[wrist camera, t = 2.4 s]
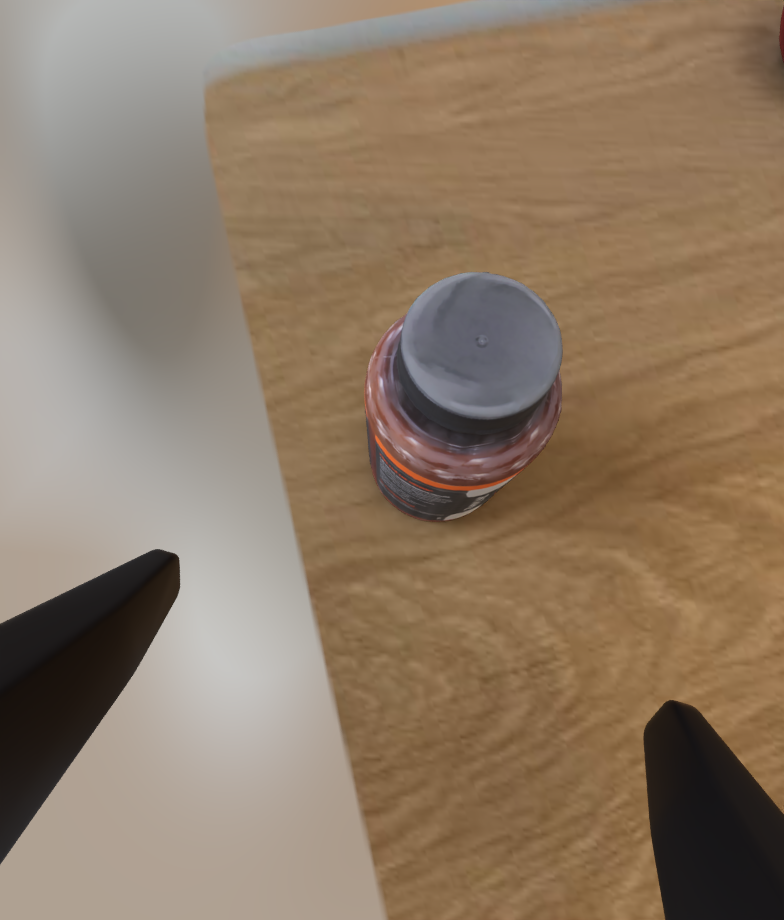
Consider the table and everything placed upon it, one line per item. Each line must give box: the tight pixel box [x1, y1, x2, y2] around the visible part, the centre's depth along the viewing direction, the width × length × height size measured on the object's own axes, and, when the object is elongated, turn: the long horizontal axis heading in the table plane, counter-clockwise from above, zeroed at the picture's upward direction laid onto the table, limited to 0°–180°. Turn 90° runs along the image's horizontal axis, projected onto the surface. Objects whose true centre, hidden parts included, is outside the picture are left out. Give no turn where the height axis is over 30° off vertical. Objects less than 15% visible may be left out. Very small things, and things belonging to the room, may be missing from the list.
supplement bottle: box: [365, 272, 563, 522], centre depth 17 cm, size 6×6×11 cm
